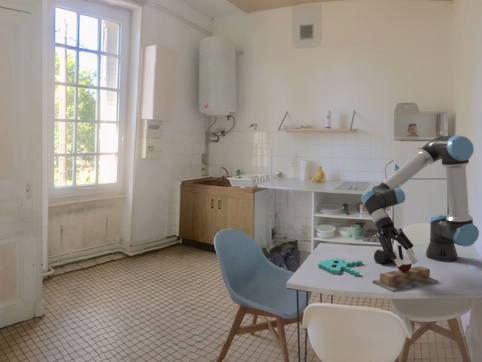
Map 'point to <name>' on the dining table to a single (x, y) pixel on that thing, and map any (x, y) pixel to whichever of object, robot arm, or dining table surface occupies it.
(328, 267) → the alien figure
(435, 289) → the dining table surface
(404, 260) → the cocoa
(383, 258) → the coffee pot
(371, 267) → the dining table surface
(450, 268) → the dining table surface
